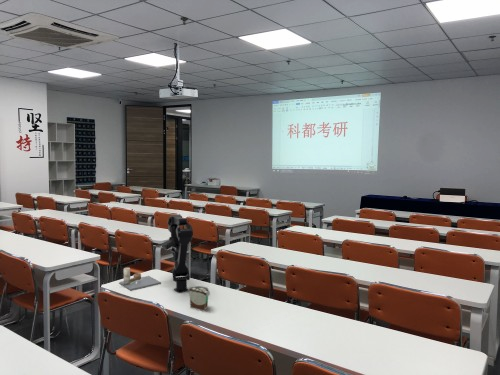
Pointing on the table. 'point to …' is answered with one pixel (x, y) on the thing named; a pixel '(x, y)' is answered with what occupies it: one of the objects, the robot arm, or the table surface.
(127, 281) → the tuning peg
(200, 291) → the food container
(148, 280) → the grey flat slab
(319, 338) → the table surface
